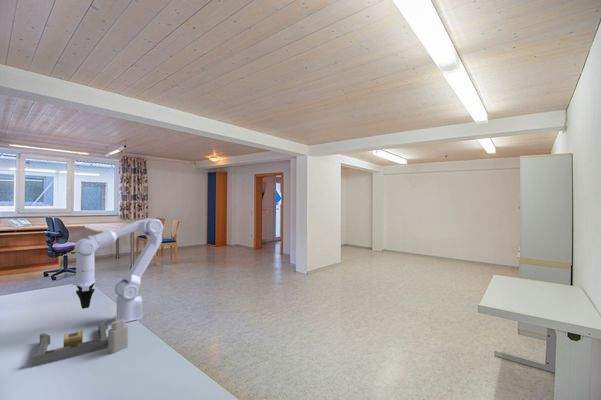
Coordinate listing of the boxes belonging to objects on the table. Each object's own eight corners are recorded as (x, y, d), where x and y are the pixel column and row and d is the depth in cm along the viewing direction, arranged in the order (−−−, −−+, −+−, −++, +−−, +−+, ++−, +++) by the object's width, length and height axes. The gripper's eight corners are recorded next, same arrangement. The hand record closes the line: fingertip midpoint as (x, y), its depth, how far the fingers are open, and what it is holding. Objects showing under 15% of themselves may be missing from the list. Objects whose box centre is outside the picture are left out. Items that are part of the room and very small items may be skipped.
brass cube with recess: (82, 344, 102) (82, 330, 102) (82, 349, 98) (82, 334, 98) (64, 349, 99) (64, 334, 99) (63, 354, 95) (63, 338, 95)
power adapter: (107, 351, 97) (107, 315, 97) (123, 344, 102) (123, 310, 102) (112, 354, 96) (112, 317, 95) (128, 346, 100) (128, 312, 100)
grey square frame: (107, 327, 115) (107, 320, 115) (110, 347, 100) (110, 338, 100) (39, 342, 103) (39, 333, 103) (31, 367, 88) (31, 356, 88)
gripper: (73, 267, 116) (73, 301, 116) (71, 275, 104) (71, 313, 104) (94, 265, 120) (94, 298, 120) (95, 272, 109) (95, 308, 109)
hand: (85, 305), depth 113 cm, fingers open, 7 cm apart
